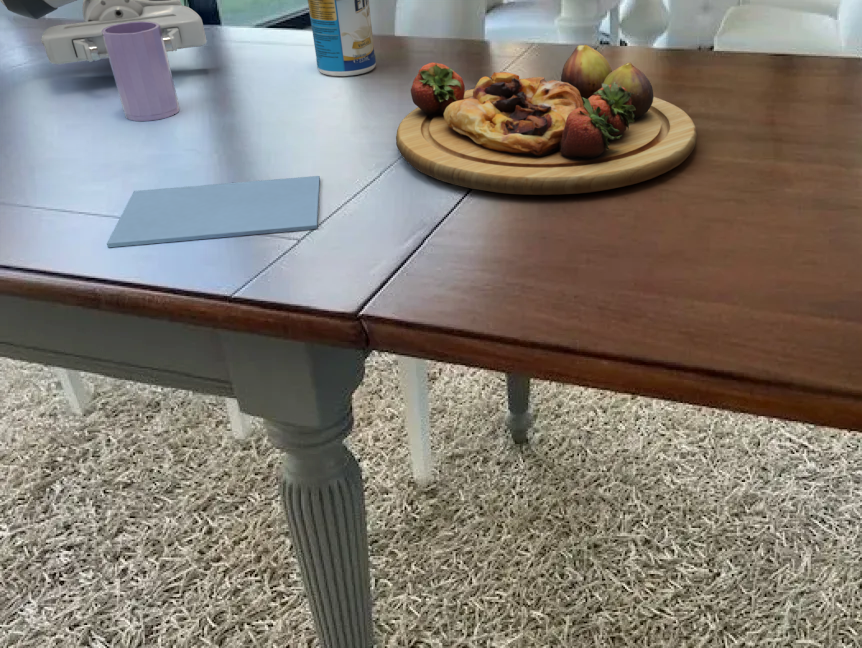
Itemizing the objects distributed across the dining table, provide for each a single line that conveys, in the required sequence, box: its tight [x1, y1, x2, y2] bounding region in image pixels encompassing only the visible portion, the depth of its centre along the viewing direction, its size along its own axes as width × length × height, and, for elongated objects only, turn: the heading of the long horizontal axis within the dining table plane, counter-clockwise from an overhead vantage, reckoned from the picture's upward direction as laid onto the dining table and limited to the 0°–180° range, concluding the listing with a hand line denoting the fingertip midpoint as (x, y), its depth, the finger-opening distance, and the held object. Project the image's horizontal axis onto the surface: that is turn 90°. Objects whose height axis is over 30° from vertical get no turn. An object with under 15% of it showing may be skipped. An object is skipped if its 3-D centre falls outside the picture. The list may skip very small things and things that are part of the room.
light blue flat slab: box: [106, 175, 321, 248], centre depth 80 cm, size 18×12×1 cm, turn 99°
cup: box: [101, 21, 181, 122], centre depth 103 cm, size 6×6×10 cm
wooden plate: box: [395, 44, 698, 196], centre depth 90 cm, size 32×32×8 cm
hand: (132, 49), depth 109 cm, fingers open, 8 cm apart
